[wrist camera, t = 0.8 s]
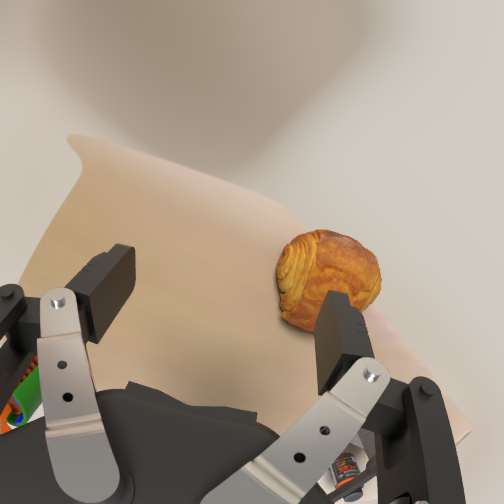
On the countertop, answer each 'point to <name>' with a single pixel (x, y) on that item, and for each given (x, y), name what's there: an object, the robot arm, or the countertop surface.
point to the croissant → (324, 275)
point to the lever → (355, 481)
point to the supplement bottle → (346, 475)
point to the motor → (23, 399)
